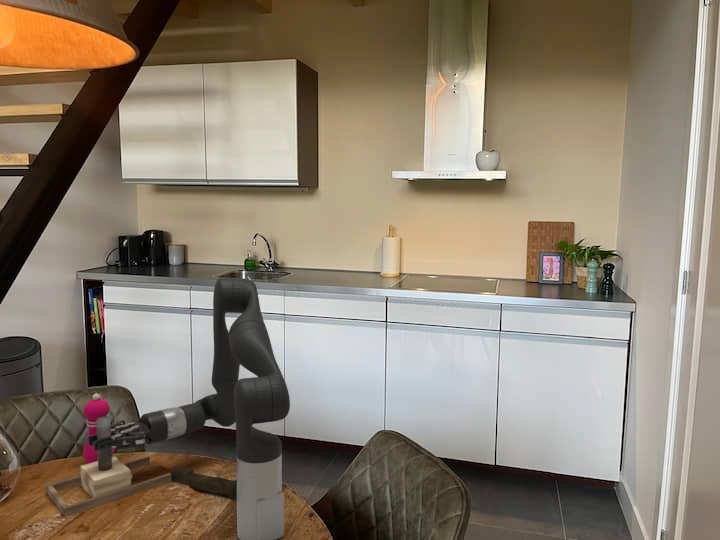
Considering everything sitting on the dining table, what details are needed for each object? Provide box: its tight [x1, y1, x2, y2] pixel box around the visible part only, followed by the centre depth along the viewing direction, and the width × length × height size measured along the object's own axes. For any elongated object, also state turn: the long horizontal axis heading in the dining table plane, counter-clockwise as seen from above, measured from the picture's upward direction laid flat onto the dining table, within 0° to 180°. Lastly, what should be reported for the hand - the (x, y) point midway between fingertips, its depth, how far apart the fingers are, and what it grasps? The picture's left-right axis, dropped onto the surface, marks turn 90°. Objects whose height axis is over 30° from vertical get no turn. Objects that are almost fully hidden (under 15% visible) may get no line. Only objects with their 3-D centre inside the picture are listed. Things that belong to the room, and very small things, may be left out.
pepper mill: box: [82, 393, 115, 465], centre depth 147 cm, size 7×7×20 cm
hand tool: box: [170, 466, 237, 500], centre depth 138 cm, size 19×4×5 cm, turn 69°
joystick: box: [80, 416, 133, 498], centre depth 134 cm, size 10×8×17 cm
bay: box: [45, 455, 173, 518], centre depth 136 cm, size 14×24×3 cm, turn 133°
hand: (91, 443), depth 132 cm, fingers closed on joystick, 3 cm apart
